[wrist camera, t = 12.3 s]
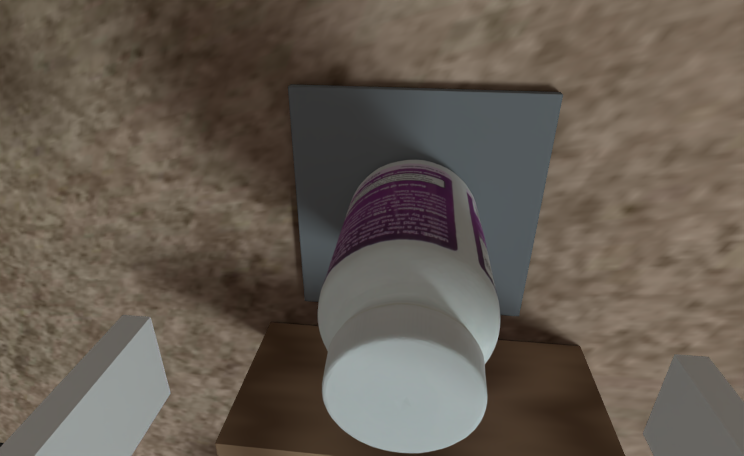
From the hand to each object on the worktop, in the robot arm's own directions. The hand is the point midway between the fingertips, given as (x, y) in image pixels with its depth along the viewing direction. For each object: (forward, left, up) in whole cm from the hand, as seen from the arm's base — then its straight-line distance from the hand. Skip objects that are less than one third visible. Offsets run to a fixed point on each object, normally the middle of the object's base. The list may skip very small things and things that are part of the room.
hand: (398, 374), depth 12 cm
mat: (0, 0, -9) cm, 9 cm away
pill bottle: (0, 0, -9) cm, 9 cm away
